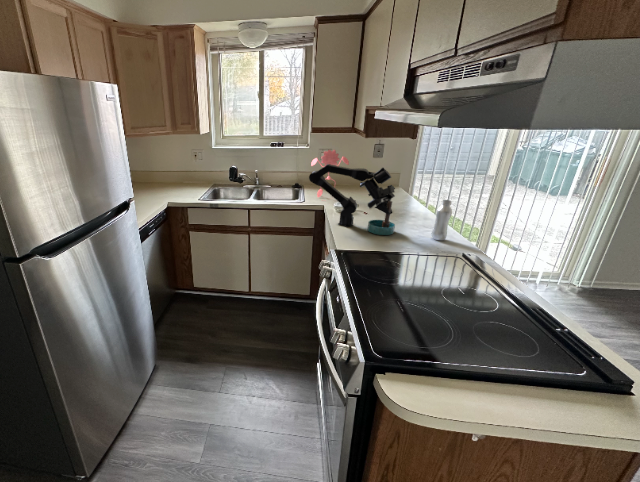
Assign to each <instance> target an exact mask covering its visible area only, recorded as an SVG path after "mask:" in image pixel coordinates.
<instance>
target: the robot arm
mask: <svg viewBox="0 0 640 482" xmlns="http://www.w3.org/2000/svg"><path fill="white" fill-rule="evenodd" d="M324 166H325V165H324ZM328 172H329V174H336V175H339V176H341V175H342V176H347V177H350V178H352V179H354V180H356V181H359V182H360V185H359V188H365V190H366V191H367V192H368V194H367V195H368V197H371V198H372V200H370V201H369V202H367V207H368V209H372V208H373V207H374V209H377V210H379V211H381V212H383V213H384V214H388V215H390V216H391V215H392V214H393V209H392V208H391V213H390V212H389V210H388V208H387V203H388V201H392V199H393V198H395V197H396V195H395V194H394V193H396V191H395V190H396V187H395V186H394V185H393V184H389V185H387V187H386V188H383V187H382V186H381V187H380V186H379V185H378V184H380V185H383V184H384V183H386V182H387V181H388V180H390V179H392V175H391V174H390V172H389V171H387V169H385V168H384V167H381V168H380V169H379V170H378V171H376V172H372V171H369V170H368V169H366V168H360V167H359V168H349V167H346V166H340V165H339V166H338V165H336V166H335V165H331V164H327V165H326V166H325V167H321V168H320V169H319V170H314V171H312V172H311V173H310V174H309V176H308V180H309V181H310V182H311V183H312V184H314V185H315V186H318V187H320V188H321V189H322V190H323V191H325V192H327V193H328V194H329V195H330V196H331V197H332V196H333V197H332V198H334V199H335V201H337V202H338V203H339V204H340V205H341V207H342V209H341V211H340V214H339V222H338V223H337V224H338V225H339V226H343V227H347V228H349V227H351V226H352V225H354V220H355V219H354V213H355V212H356V211H357V208H358V203H357V200H355V199H354V198H353V197H352V196H349V197H348V196H345V195H344V194H343V193H341V191H339V190H338V189H337V188H336V187H335V188H334V186H333V185H332V184H331V183H330V182H329V181H328V180H327V178H325V175H326V174H328Z"/></svg>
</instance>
